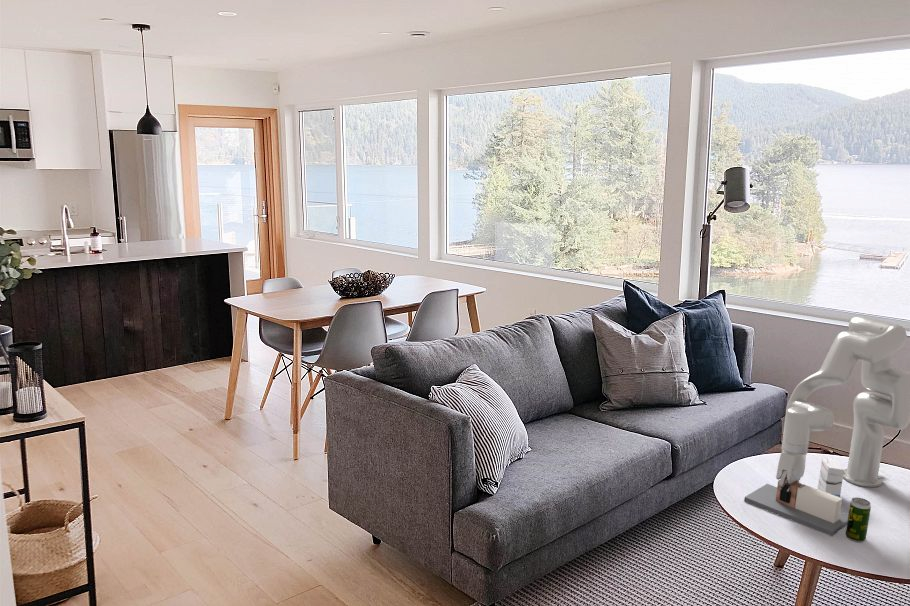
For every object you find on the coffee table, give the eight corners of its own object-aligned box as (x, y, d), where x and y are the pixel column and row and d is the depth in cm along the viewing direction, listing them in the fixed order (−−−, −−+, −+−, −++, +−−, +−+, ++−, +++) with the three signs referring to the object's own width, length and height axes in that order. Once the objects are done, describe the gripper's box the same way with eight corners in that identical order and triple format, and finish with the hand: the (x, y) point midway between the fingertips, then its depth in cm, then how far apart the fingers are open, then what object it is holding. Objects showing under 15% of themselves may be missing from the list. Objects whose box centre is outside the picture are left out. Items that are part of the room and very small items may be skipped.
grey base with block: (766, 487, 251) (769, 464, 249) (852, 520, 231) (856, 494, 229) (744, 501, 242) (746, 476, 240) (832, 536, 221) (836, 510, 219)
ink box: (840, 503, 242) (844, 469, 239) (823, 501, 243) (828, 468, 240) (832, 491, 250) (837, 458, 247) (816, 489, 251) (821, 457, 248)
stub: (781, 497, 242) (784, 477, 240) (799, 504, 237) (802, 483, 236) (775, 500, 239) (778, 480, 238) (793, 507, 235) (796, 487, 233)
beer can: (850, 531, 224) (855, 495, 221) (868, 539, 220) (874, 502, 217) (842, 537, 221) (847, 500, 218) (860, 545, 217) (866, 507, 214)
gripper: (795, 436, 242) (788, 487, 246) (770, 449, 231) (764, 502, 235) (818, 443, 237) (811, 495, 241) (794, 457, 226) (787, 511, 230)
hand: (788, 498), depth 238 cm, fingers closed on stub, 4 cm apart
